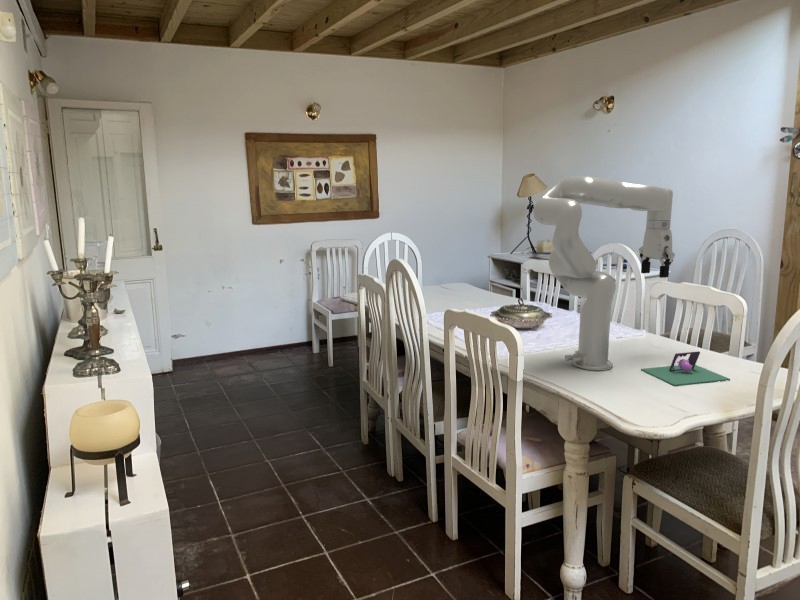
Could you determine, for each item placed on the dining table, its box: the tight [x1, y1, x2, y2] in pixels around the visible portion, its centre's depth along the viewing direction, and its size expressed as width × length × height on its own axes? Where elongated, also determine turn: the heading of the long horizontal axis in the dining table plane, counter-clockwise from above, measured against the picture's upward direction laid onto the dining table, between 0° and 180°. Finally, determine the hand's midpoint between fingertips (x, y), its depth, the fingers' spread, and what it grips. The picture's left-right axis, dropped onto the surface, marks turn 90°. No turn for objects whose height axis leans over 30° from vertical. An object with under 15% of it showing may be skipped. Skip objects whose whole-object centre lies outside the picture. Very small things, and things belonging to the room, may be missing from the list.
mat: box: [640, 364, 731, 387], centre depth 189 cm, size 20×16×1 cm
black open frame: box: [669, 350, 701, 374], centre depth 190 cm, size 7×5×9 cm
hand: (654, 275), depth 207 cm, fingers open, 9 cm apart
